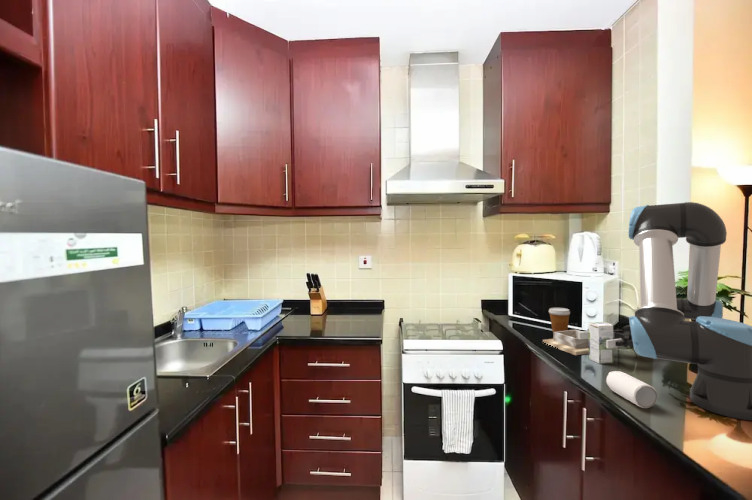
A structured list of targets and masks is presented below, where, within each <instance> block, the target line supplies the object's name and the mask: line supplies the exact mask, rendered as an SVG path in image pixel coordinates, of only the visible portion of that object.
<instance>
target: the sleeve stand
mask: <svg viewBox="0 0 752 500" xmlns="http://www.w3.org/2000/svg"><path fill="white" fill-rule="evenodd" d="M578 332H584V331H582V330H578V329H576V328H575V329H569V330H566V331H557V332H553V331H552V333H553V337H552V338H548V339H546V338H545V339H542V343H543V342H544V343H546V344H545V345H547V344H548V345H547V346H549V345H551V346H550V347H552V346H553V347H552V348H555V347H556V348H555V349H557V348H558V350H560V351H564V352H566V353H569V354H571V355H573V356H580V355H589V338H588V339H578ZM544 343H543V344H544Z"/></svg>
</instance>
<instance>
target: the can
mask: <svg viewBox="0 0 752 500" xmlns="http://www.w3.org/2000/svg"><path fill="white" fill-rule="evenodd" d="M605 383H606V385H607V386H608V388H609V389H610V390H611V391H613V392H614V393H616V394H617V395H619V396H621V397H622V398H624V399H625V400H627V401H629V402H631V403H632V404H635V405H636V406H637V407H639V408H642V409H648V408H649V409H650V408H652V407H653V406H655V404H656V403H657V400H658V392H657V391H656V389H655V388H654V386H652V385H650V384H648V383H646V382H644V381H642V380H640V379H638V378H637V377H634V376H631V375H630V374H628V373H625V372H623V371H618V370H612V371H610V372H608V374H607V375H606V378H605Z"/></svg>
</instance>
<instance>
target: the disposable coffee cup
mask: <svg viewBox="0 0 752 500" xmlns="http://www.w3.org/2000/svg"><path fill="white" fill-rule="evenodd" d="M548 313H549V317H550V324H551V330H552V333H553V332H557V331H566V330H568V329H569V322H570V321H569V320H570V314H571V310H570V309H568V308H565V307H550V308H549V309H548Z"/></svg>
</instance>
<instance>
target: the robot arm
mask: <svg viewBox="0 0 752 500" xmlns="http://www.w3.org/2000/svg"><path fill="white" fill-rule="evenodd" d="M628 222H629V223H628V238H629V239H630V240H633V243H634V245H635V246H637V247H639V252H638V253H639V286H640V288H639V291H640V307H638V308H637V309H636V310H635V311H634V315H632V316H629V317H628V320H629V322H628V323H629V324H627V325H625V326H623V327H622V328H621V329H613V339H612V340H606V348H613V349H614V348H621V347H622V348H623V347H624V348H628V347H629V348H630V349H633V350H634V352H635V354H637V355H638V356H640V357H645V358H650V359H654V360H664V361H670V362H671V361H673V362H679V363H686V364H693V365H697V374H696V376H695V378H694V381H693V384H692V385H691V388H690V390H689V399H690V401H691V402H692V404H694V405H695V406H697V407H699V408H701V409H703V410H705V411H709V412H711V413H714V414H717V415H721V416H725V417H729V418H733V419H738V420H745V421H752V325H749V324H748V323H744V322H741V321H737V320H732V319H727V318H723V317H724V314H723V313H724V308H723V303H722V301H720V300H716V299H717V290H718V289H717V287H718V279H719V267H720V258H721V247H722V245H724V244H725V243H726V241H727V228H726V225H725V222H724V221H723V218H722V217H721V216H720V215H719V214H718V213H717V212H716V211H715V210H713V209H712V208H710V207H709V206H707V205H705V204H702V203H699V202H693V201H690V202H689V201H688V202H687V201H685V202H679V203H666V204H654V205H651V204H650V205H649V204H646V205H641V206H636V207H634V208H633V209H632V210H631V212H630V216H629V221H628ZM679 238H680V239H681V238H682V239H683V238H685V242H686V243H688V244H689V251H688V253H689V255H688V269H687V271H688V274H687V275H688V277H687V292H686V293H687V295H686V298H677V290H676V289H677V287H676V278H675V277H676V276H675V262H674V249H673V247H674V245H675V244H677V243H678V241H679ZM687 319H688V320H687ZM691 320H693V321H691ZM694 320H695V321H694ZM588 338H589V332H588V330H586V331H583V332H578V339H588Z"/></svg>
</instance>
